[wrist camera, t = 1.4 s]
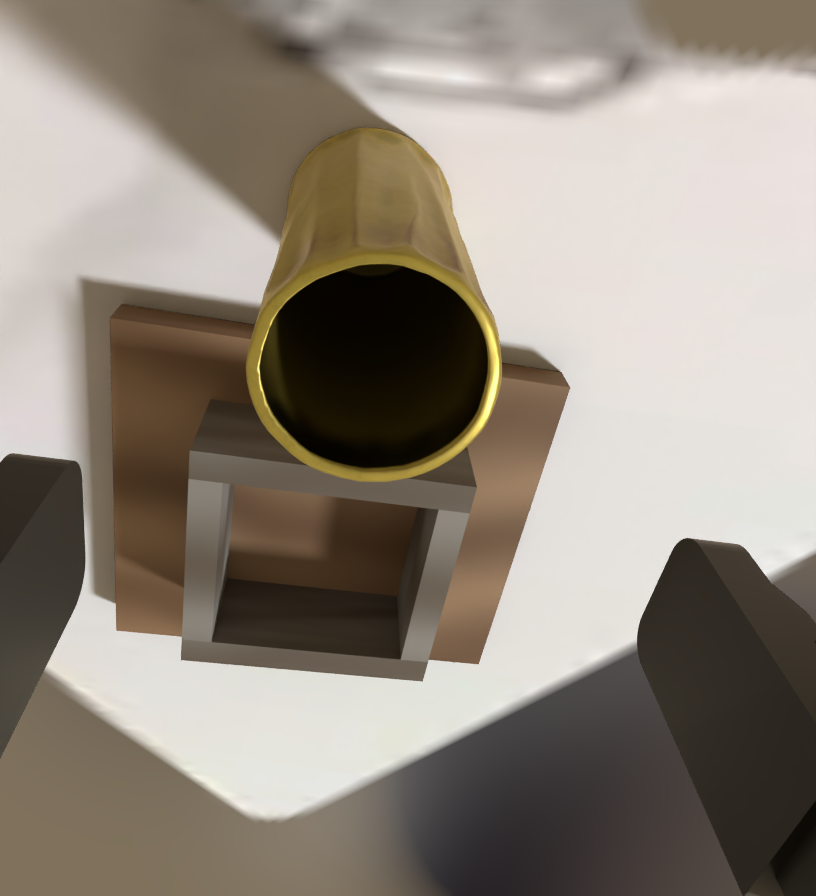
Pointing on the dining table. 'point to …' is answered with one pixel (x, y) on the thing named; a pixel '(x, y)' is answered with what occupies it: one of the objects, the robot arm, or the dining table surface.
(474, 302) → the vase
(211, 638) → the dock
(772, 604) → the robot arm
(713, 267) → the dining table surface
